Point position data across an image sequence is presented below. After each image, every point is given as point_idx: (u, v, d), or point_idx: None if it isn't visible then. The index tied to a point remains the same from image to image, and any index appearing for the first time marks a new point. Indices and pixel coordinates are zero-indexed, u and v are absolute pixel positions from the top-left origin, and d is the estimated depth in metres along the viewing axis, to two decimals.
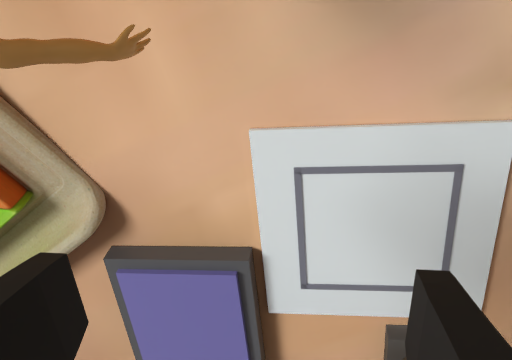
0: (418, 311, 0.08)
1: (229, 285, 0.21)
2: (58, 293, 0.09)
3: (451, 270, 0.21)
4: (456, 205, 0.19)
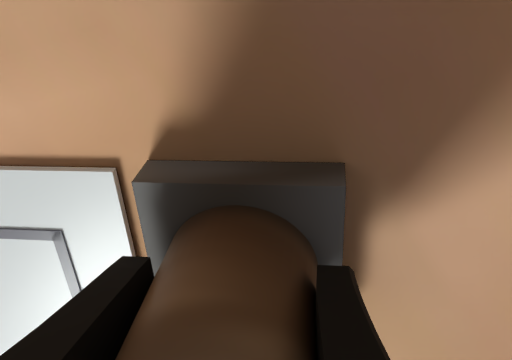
0: None
1: None
2: None
3: (14, 224, 0.12)
4: None
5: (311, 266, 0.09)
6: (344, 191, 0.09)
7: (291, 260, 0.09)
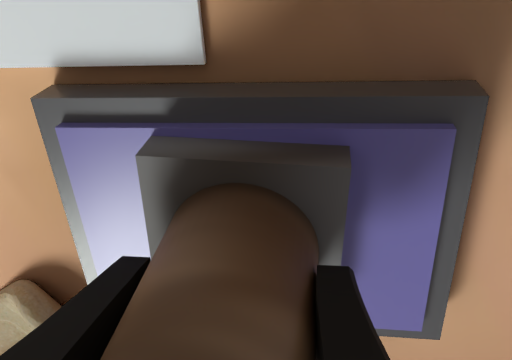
0: None
1: (83, 142, 0.11)
2: None
3: None
4: None
5: (312, 247, 0.09)
6: (349, 172, 0.09)
7: (294, 238, 0.09)
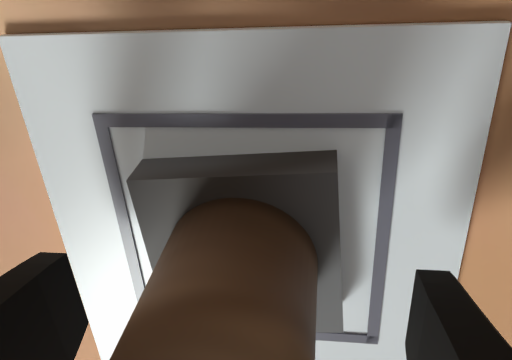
0: (418, 311, 0.08)
1: None
2: (58, 293, 0.09)
3: (339, 106, 0.09)
4: (177, 115, 0.10)
5: (308, 255, 0.09)
6: (336, 177, 0.09)
7: (286, 248, 0.09)
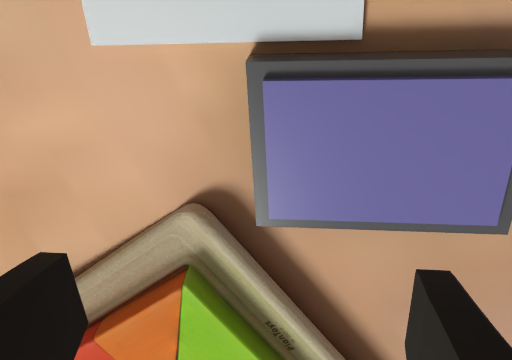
0: (418, 311, 0.08)
1: (280, 91, 0.16)
2: (58, 293, 0.09)
3: None
4: None
5: None
6: None
7: None
